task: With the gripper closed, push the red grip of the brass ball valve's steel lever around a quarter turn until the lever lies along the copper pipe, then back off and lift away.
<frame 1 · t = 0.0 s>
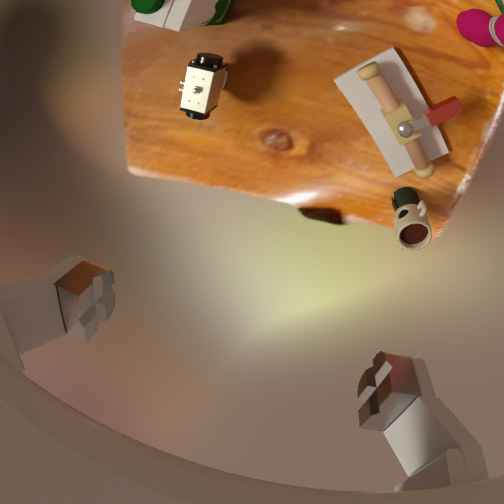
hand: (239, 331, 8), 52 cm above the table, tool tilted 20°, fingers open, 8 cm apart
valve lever: (429, 117, 37), point 9 cm above the table, hinge at 0.0°
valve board: (395, 113, 46), on the table
milk carton: (213, 4, 40), on the table
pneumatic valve: (217, 76, 50), on the table
character mug: (404, 197, 58), on the table
pepper mill: (470, 26, 29), on the table
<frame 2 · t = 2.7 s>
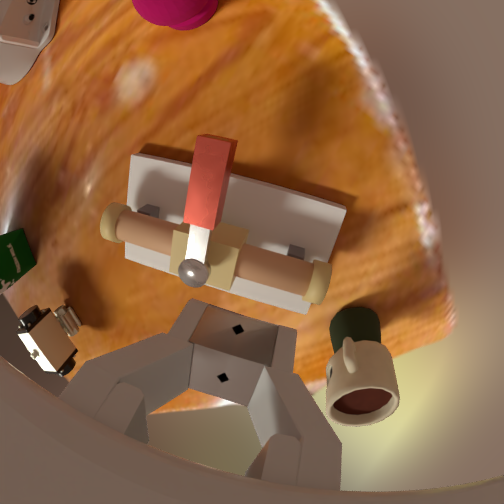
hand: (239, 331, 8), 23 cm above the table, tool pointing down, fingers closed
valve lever: (203, 217, 22), point 9 cm above the table, hinge at 0.0°
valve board: (223, 231, 33), on the table
milk carton: (21, 248, 42), on the table
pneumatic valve: (71, 315, 46), on the table
character mug: (354, 322, 35), on the table
pepper mill: (190, 6, 22), on the table
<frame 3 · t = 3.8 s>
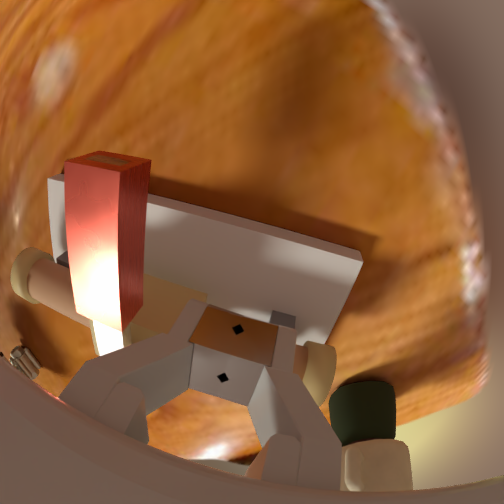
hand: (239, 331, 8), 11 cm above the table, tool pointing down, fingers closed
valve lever: (109, 303, 12), point 9 cm above the table, hinge at 0.0°
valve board: (177, 284, 22), on the table
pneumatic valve: (30, 355, 35), on the table
character mug: (361, 393, 24), on the table
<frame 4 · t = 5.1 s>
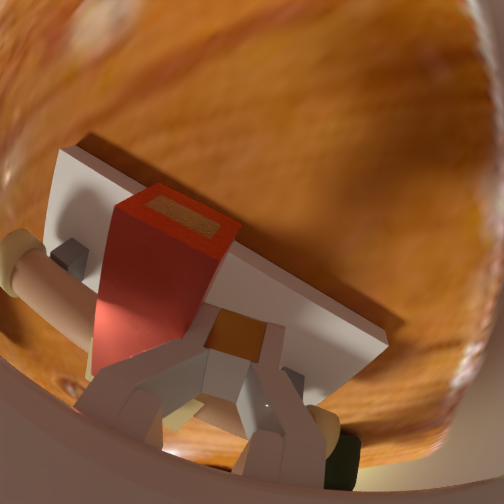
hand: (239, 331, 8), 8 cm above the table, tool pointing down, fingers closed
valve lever: (134, 368, 9), point 9 cm above the table, hinge at 4.3°, touching gripper
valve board: (184, 311, 19), on the table
character mug: (329, 439, 24), on the table
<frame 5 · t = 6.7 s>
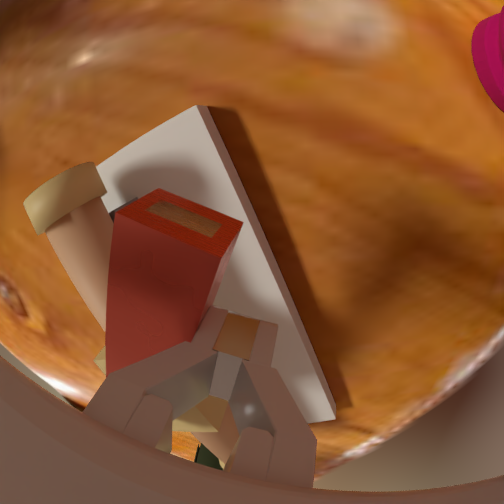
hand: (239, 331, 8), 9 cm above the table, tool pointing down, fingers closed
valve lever: (148, 374, 9), point 9 cm above the table, hinge at 46.1°, touching gripper
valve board: (198, 317, 20), on the table
character mug: (227, 447, 28), on the table
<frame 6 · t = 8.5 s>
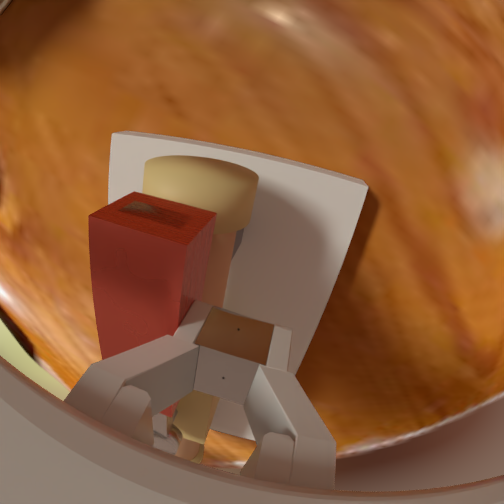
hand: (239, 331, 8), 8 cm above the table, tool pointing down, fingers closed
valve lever: (150, 379, 9), point 9 cm above the table, hinge at 88.3°, touching gripper
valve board: (207, 324, 20), on the table
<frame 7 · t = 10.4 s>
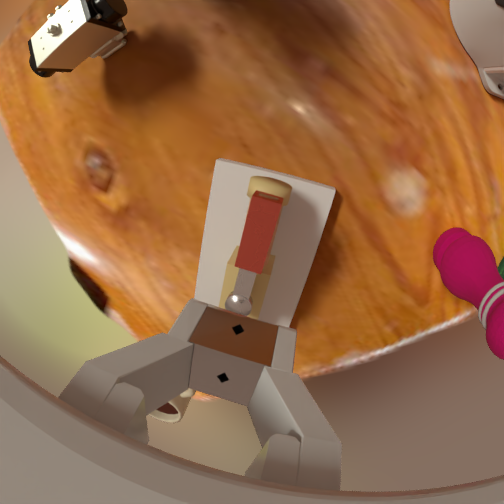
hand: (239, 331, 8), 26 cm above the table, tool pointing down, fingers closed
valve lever: (250, 261, 27), point 9 cm above the table, hinge at 88.4°
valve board: (254, 262, 37), on the table
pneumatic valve: (113, 40, 27), on the table
character mug: (188, 345, 46), on the table
pepper mill: (452, 249, 31), on the table
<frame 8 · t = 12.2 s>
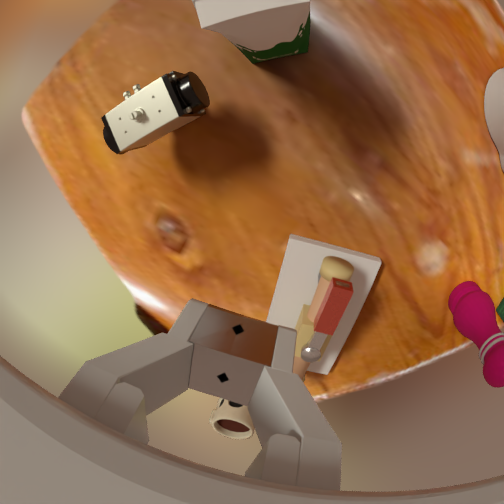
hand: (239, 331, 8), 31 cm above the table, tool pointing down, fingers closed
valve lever: (324, 325, 34), point 9 cm above the table, hinge at 88.4°
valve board: (312, 312, 45), on the table
milk carton: (273, 34, 29), on the table
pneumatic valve: (181, 110, 35), on the table
character mug: (247, 373, 54), on the table
pepper mill: (463, 296, 39), on the table
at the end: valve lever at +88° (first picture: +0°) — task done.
